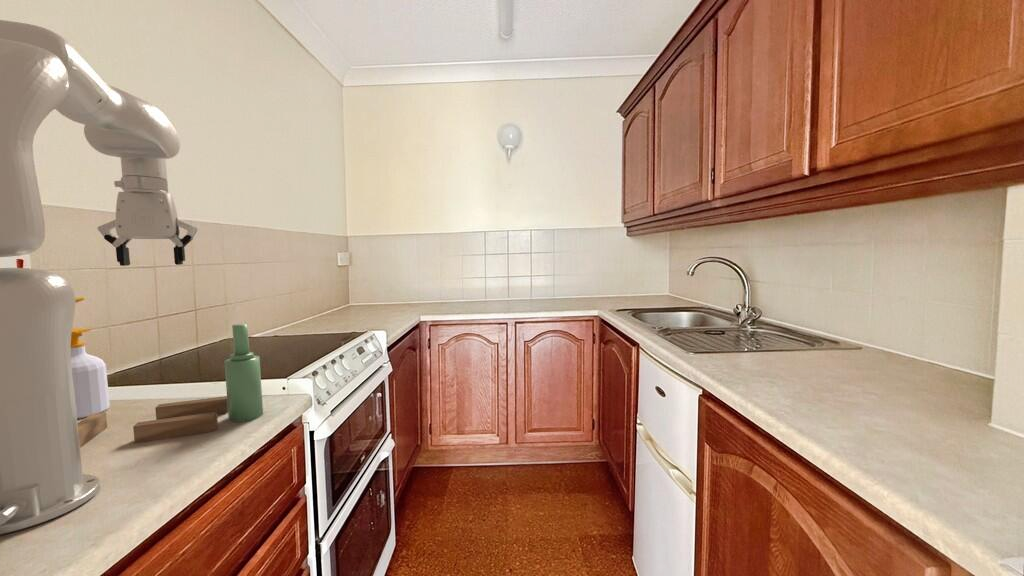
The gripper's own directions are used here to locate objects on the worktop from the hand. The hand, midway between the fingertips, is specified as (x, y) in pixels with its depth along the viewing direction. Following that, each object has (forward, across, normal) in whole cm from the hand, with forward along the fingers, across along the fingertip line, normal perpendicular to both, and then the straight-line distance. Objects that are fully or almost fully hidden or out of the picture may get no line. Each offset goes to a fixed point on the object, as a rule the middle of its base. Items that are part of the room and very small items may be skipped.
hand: (152, 265), depth 94 cm
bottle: (+31, +19, -20) cm, 42 cm away
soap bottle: (+31, -14, -2) cm, 34 cm away
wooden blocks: (+31, +4, -20) cm, 37 cm away
